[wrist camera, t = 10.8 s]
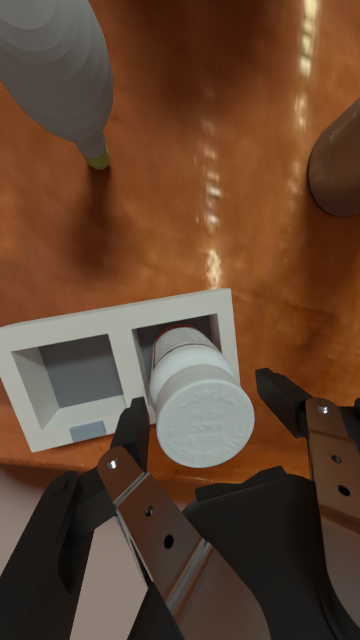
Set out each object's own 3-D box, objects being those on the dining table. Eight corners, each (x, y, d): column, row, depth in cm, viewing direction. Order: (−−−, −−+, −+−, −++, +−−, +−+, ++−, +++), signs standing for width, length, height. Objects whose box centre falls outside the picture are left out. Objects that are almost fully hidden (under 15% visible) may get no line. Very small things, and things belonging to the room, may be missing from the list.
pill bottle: (194, 380, 21) (235, 487, 10) (144, 364, 20) (127, 466, 9) (214, 333, 20) (285, 391, 9) (164, 314, 19) (174, 354, 8)
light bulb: (123, 204, 17) (76, 91, 7) (62, 181, 16) (-90, 14, 6) (137, 141, 16) (106, -86, 6) (74, 113, 15) (-80, -206, 5)
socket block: (217, 288, 19) (231, 288, 16) (228, 384, 22) (243, 404, 18) (16, 323, 18) (-22, 333, 14) (53, 424, 20) (29, 455, 16)
